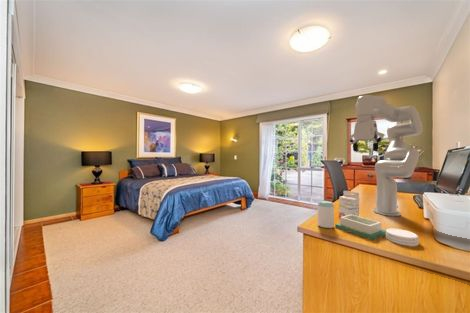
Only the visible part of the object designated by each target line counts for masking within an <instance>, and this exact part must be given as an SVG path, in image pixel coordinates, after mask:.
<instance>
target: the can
mask: <svg viewBox="0 0 470 313" xmlns="http://www.w3.org/2000/svg"><path fill="white" fill-rule="evenodd" d="M317 225H318V226H319V227H320V228H322V227H323V228H322V229H327V228H330V229H332V228H334V227H335V206H334V204H333V201H330V200H319V202H318V203H317Z"/></svg>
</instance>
